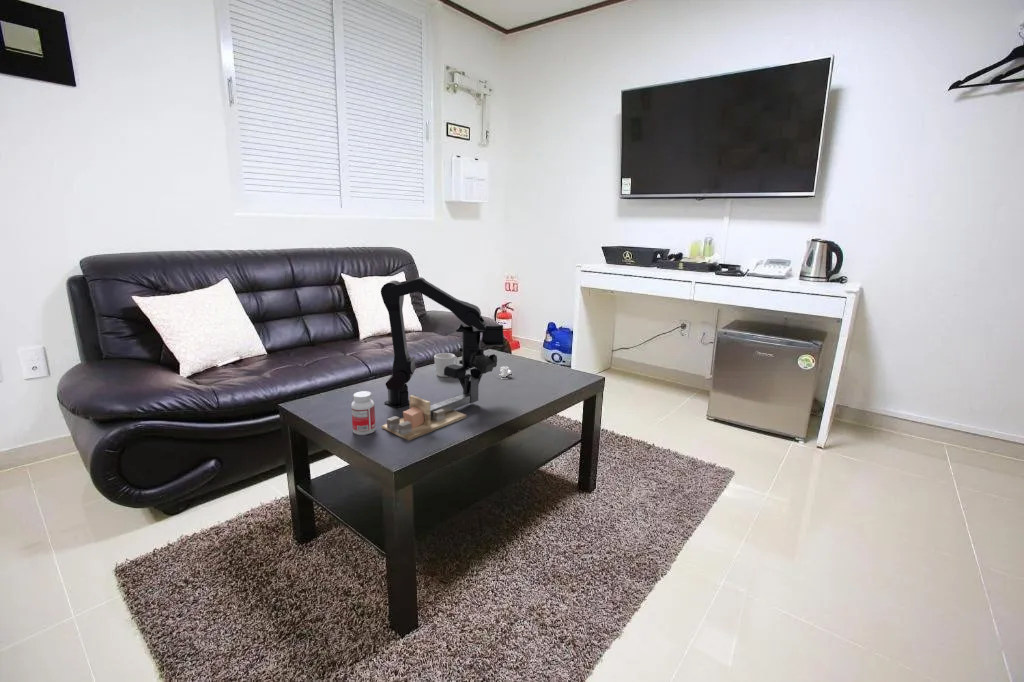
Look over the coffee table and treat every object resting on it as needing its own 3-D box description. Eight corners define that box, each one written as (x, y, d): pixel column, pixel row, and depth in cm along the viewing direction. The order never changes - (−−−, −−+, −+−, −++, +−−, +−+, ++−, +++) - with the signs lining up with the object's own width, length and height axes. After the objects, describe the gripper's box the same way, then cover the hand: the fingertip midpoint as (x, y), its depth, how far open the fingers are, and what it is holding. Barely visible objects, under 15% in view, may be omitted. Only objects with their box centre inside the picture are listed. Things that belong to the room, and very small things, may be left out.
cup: (449, 369, 192) (449, 350, 190) (464, 373, 187) (464, 353, 185) (430, 375, 183) (429, 355, 181) (445, 380, 179) (444, 359, 177)
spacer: (404, 424, 137) (402, 411, 135) (415, 419, 140) (413, 406, 138) (413, 428, 134) (412, 415, 133) (424, 422, 137) (422, 410, 136)
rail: (381, 428, 136) (380, 401, 134) (439, 407, 152) (439, 383, 150) (408, 440, 128) (408, 413, 126) (466, 417, 145) (466, 392, 143)
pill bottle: (368, 424, 138) (366, 388, 135) (379, 431, 134) (378, 394, 131) (348, 430, 133) (346, 393, 131) (359, 437, 129) (357, 399, 127)
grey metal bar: (417, 417, 140) (416, 393, 138) (470, 397, 157) (470, 376, 155) (425, 420, 138) (424, 396, 136) (478, 400, 155) (478, 378, 153)
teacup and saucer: (505, 372, 191) (506, 362, 190) (519, 377, 186) (520, 367, 185) (489, 376, 185) (489, 366, 184) (503, 382, 180) (503, 371, 179)
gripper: (468, 355, 138) (468, 406, 142) (509, 344, 152) (508, 390, 156) (442, 348, 145) (442, 396, 149) (484, 338, 159) (483, 383, 163)
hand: (470, 391), depth 154 cm, fingers closed on grey metal bar, 3 cm apart
